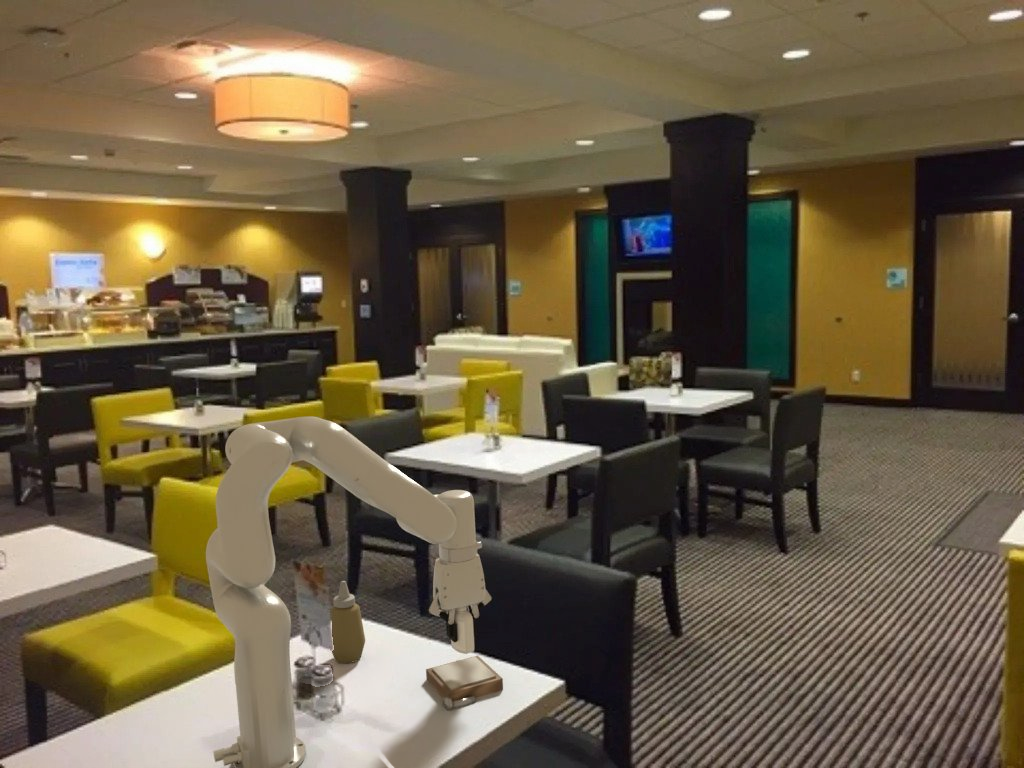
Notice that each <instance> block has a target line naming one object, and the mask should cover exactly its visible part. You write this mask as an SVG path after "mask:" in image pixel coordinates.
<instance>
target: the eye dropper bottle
mask: <svg viewBox="0 0 1024 768" xmlns="http://www.w3.org/2000/svg"><path fill="white" fill-rule="evenodd" d="M454 622H455V623H456V624H457V639H458V641H457V642H453V641H452V640H451V639H450V645H451V648H452V649H453V650H454V651H456V652H457V653H460V654H464V655H467V654H470V653H473V652H475V637H474V630H473V617H472V615H471V613H470V612H469V611H468V607H467V606H465V607H461V608H457V609H455V616H454Z"/></svg>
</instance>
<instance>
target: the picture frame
mask: <svg viewBox="0 0 1024 768" xmlns="http://www.w3.org/2000/svg"><path fill="white" fill-rule="evenodd" d="M425 676H426V681H427V682H428V683H429V684H430V686H431V687H432V688H433V689H434V690H435V691H436V692H437V693H438V694H439V696H440V697H441V698H442V700H443V699H444V698H446V697H450V698H451V700H452V701H455V700H459V699H462V698H466V697H470V696H474V697H475V698H478V697H482V696H485V695H488V694H492V693H496V692H498V691H502V690H504V683H503V679H504V678H503V677H502V676H501V675H500V674H498V673H497V671H495V670H494V669H493V668H492V667H491V666H490V665H489V664H487V662H485V661H484V660H483V658H481V657H480V656H479V655H474V656H471V657H468V658H463V659H459V660H456V661H451V662H449V663H448V662H447V663H445V664H442V665H438V666H433V667H429V668H426V669H425Z"/></svg>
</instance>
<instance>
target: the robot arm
mask: <svg viewBox="0 0 1024 768" xmlns="http://www.w3.org/2000/svg"><path fill="white" fill-rule="evenodd" d="M224 452H225V456H226V458H227V460H228V462H229V463H230V467H229V468H227V471H226V472H225V474H223V477H222V478H221V481H220V483H219V485H218V487H217V490H216V491H217V492H216V496H215V512H216V521H217V528H216V529H215V530H214V531H212V533H211V534H210V537H209V538H208V541H207V544H206V547H205V548H206V549H205V562H206V566H207V573H208V579H209V585H210V591H211V596H212V603H213V607H214V610H215V613H216V615H217V617H218V618H217V619H218V620H219V621H220V622H221V623H222V624H223V626H225V627H226V629H227V631H229V632H230V633H231V634H232V635H233V639H234V642H235V643H234V645H235V650H234V660H233V661H234V662H233V669H234V684H235V691H236V692H235V693H236V700H237V701H236V703H237V712H238V713H237V714H238V723H239V725H238V726H239V736H237V737H236V742H234V743H231V746H228V747H223V748H219V749H216V750H213V751H212V752H213V759H214V763H218V762H221V761H223V766H225V767H226V766H230V765H232V764H233V768H298V767H299V766H300V765H301V764H302V763H303V762H304V760H305V759H306V755H307V748H306V744H305V742H304V741H303V740H302V739H300V738H299V737H297V733H296V732H297V731H296V721H295V720H296V718H295V708H294V706H295V705H294V695H293V683H292V672H291V670H292V669H291V658H290V656H291V655H290V651H291V650H290V647H291V646H290V644H291V632H292V620H291V619H292V618H291V615H290V611H289V609H288V607H287V606H286V604H285V602H284V601H283V600H282V599H281V598H280V597H279V596H278V594H276V593H275V592H273V591H272V590H271V589H270V588H268V587H267V586H265V584H267V583H268V581H269V580H270V579H271V577H273V575H274V572H275V568H276V555H275V554H276V553H275V547H274V543H273V536H272V529H271V525H270V518H269V517H270V516H269V499H270V498H269V497H270V494H271V493H272V490H273V489H274V487H275V485H276V484H277V482H279V481H280V479H282V478H283V476H284V475H285V474H286V473H287V472H288V470H289V468H290V467H291V465H292V463H296V462H300V461H301V462H302V461H304V462H306V463H309V464H311V465H312V466H314V467H315V468H316V469H318V470H320V471H321V472H322V473H324V474H325V475H326V476H327V477H329V478H330V479H332V480H333V481H335V482H336V483H337V484H338V485H340V486H341V487H343V488H344V489H345V490H347V491H348V492H350V493H351V494H353V495H354V496H355V497H356V498H358V499H360V500H361V501H363V502H365V503H366V504H368V505H369V506H372V507H374V508H376V509H378V510H380V511H382V512H385V513H386V514H388V515H390V516H391V517H393V518H395V519H396V522H397V524H398V525H399V527H400V528H401V529H402V530H404V531H405V532H406V533H409V534H411V535H413V536H415V537H418V538H419V539H421V540H424V541H426V542H428V543H429V544H433V545H434V544H435V545H438V550H439V551H438V553H439V557H437V558H436V559H435V562H434V568H433V569H434V570H433V581H432V584H433V586H432V587H433V589H432V597H433V600H432V602H431V604H430V606H429V609H428V612H429V613H430V614H431V615H434V616H435V617H439V618H441V619H442V620H444V621H445V628H446V629H445V631H446V636H447V638H449V640H450V641H451V640H452V641H453V642H457V641H458V639H457V624H456V623H455V622H454V616H455V609H457V608H461V607H465V606H467V610H468V611H469V612H470V613H471V615H472V617H473V630H474V638H477V631H478V618H479V616H480V613H481V612H482V611H483V609H484V607H485V606H486V605H488V603H490V602H491V601H492V596H491V595H490V593H489V591H488V590H487V589H486V582H485V573H484V569H483V565H482V561H481V558H480V554H478V550H479V549H482V548H483V544H482V541H477V540H476V539H477V538H476V537H477V536H476V521H475V520H476V517H475V501H474V497H473V494H472V493H471V492H469V491H467V490H462V489H452V490H447V491H443V492H442V493H440V494H433V493H432V492H430V491H429V490H428V489H427V488H425V487H423V486H422V485H420V484H419V483H417V482H416V481H414V480H413V479H412V478H410V477H408V476H407V475H406V474H404V473H403V472H402V471H400V469H398V468H397V467H395V466H394V465H392V464H391V463H389V462H388V461H387V460H385V459H384V458H382V457H381V456H380V455H379V454H377V453H376V452H375V451H373V450H372V449H371V448H369V446H367V445H366V444H364V443H363V442H362V441H361V440H359V439H358V438H357V437H355V435H353V434H352V433H350V432H349V431H347V430H346V429H345V428H343V427H342V426H341V425H339V424H337V423H336V422H333V421H331V420H327V419H323V418H320V417H318V416H310V415H309V416H300V417H292V418H285V419H284V418H283V419H278V420H271V421H262V422H254V423H248V424H244V425H242V426H239V427H238V428H236V429H234V430H233V431H232V432H231V433H230V434H229V435H228V438H227V440H226V442H225V451H224Z"/></svg>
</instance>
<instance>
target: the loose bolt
mask: <svg viewBox="0 0 1024 768" xmlns="http://www.w3.org/2000/svg"><path fill="white" fill-rule="evenodd" d="M475 703H476V697H474V696H470V697H466V698H462V699H459V700H455V701H452V700H451V698H450V697H446V698H444V699H443V698H442V707H444V708H445V710H446V711H452V710H456V709H459V708H461V707H465V706H469V705H471V704H475Z"/></svg>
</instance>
